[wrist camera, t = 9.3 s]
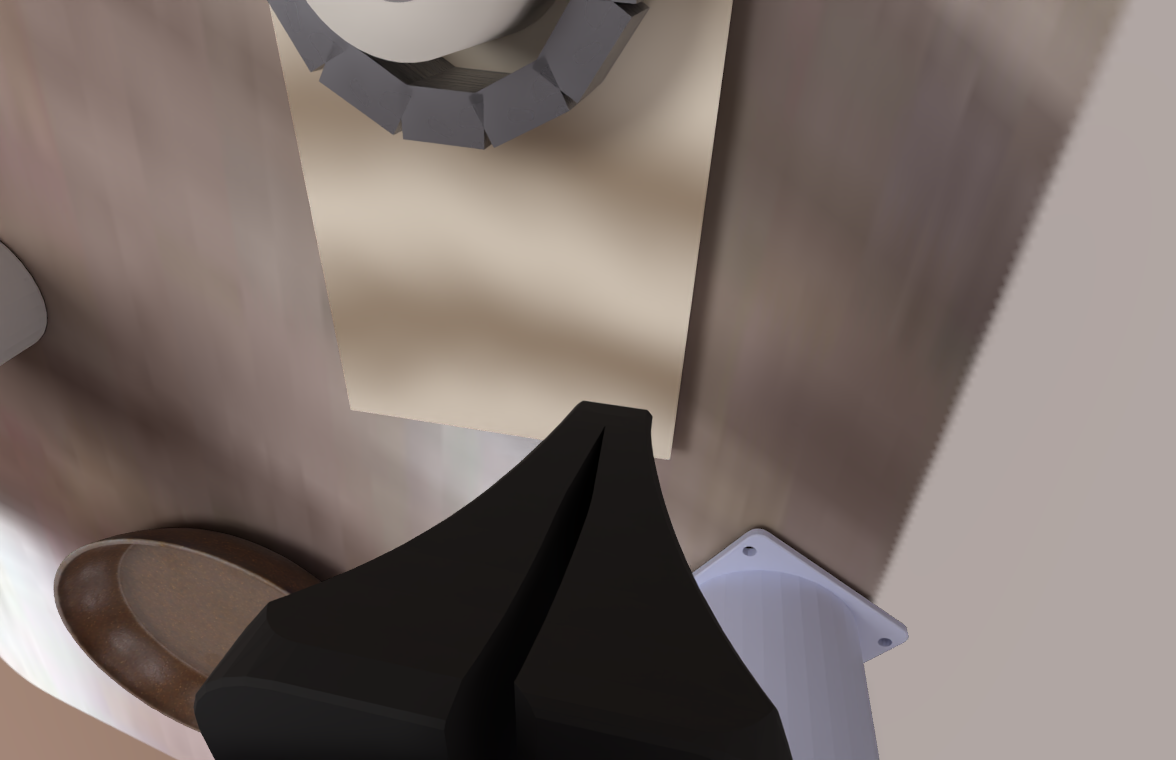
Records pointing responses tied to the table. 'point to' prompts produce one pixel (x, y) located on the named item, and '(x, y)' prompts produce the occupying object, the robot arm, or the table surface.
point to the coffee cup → (18, 307)
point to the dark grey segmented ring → (468, 76)
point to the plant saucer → (168, 607)
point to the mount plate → (521, 237)
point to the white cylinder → (425, 24)
